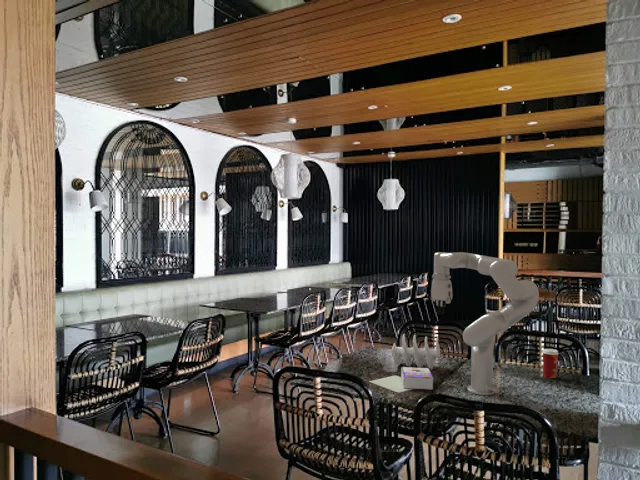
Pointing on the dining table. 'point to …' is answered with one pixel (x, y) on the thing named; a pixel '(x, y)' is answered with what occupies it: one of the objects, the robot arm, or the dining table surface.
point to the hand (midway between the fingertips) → (440, 314)
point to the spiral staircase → (415, 353)
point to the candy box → (416, 378)
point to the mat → (391, 383)
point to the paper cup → (550, 362)
